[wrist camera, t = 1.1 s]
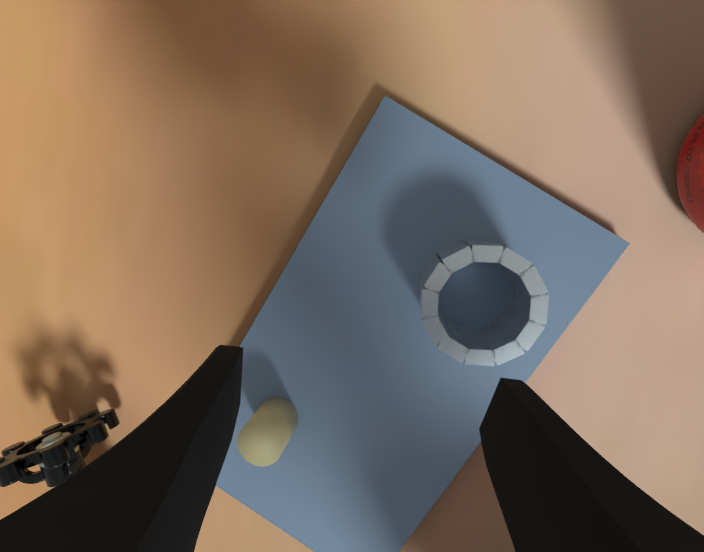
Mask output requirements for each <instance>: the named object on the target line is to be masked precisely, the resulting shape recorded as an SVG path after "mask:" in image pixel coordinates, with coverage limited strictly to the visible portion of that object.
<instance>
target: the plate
mask: <svg viewBox="0 0 704 552" xmlns="http://www.w3.org/2000/svg"><path fill="white" fill-rule="evenodd" d="M462 240H475V241H489V242H492V243H495V244H498V245H501V246H505V247H507V248H509V249H510V250H512V251H514V252H515V253H517V254H519V255H520V256H522V257H523V258H525V259H527V260H528V261H530V262H532V265H535V267H536V269H537V271H538V273H539V275H540V277H541V278H542V280H543V282H544V284H545V286H546V288H547V290H548V292H547V293H546V294H548V295H549V302H548V313H547V324H541V325H543V326H544V327H545V329H544V330H543V331H542V333H541V334H540V335H539V337H538V338H537V339H536V341H535V342H534V343H533V345H532V346H531V348H530V349H529V350H528V351H526V350H525V349H523V348H522V349H523V351H524V353H525V354H523V355H521V356H518V357H516V358H514V359H512V360H509V361H507V362H505V363H503V364H501V365H497V363H496V362H495V364H494V366H482V365H468V364H465V363H464V361H463V362H462V363H461V362H459V361H457V360H456V359H454V358H453V357H451V356H449V355H448V354H446V353H445V352H443V351H442V350H440V349H438V348H437V345H435V344H434V342H433V341H432V339H431V337H430V335H429V333H428V331H427V329H426V327H425V326H424V324H423V322H422V317H421V309H420V286H421V277H422V273H423V271H424V270H425V268H426V267H427V265H428V264H429V262H430V261H431V259H432V258H433V256H434V255H435V254H436V255H437V256H439V255H438V253H437V252H438V251H440V250H442V249H444V248H446V247H448V246H450V245H452V244H454V243H456V242H458V241H460V242H462ZM629 244H630V243H628V242H627V241H625V240H623V239H622V238H620V237H618V236H617V235H615V234H613V233H612V232H610V231H608V230H607V229H605V228H603V227H602V226H600V225H599V224H597V223H595V222H594V221H592V220H590V219H589V218H587V217H585V216H584V215H582V214H580V213H579V212H577V211H575V210H574V209H572V208H570V207H569V206H567V205H565V204H564V203H562V202H560V201H559V200H557V199H556V198H554V197H552V196H551V195H549V194H547V193H546V192H544V191H542V190H541V189H539V188H537V187H536V186H534V185H532V184H531V183H529V182H527V181H526V180H524V179H522V178H521V177H519V176H517V175H516V174H514V173H512V172H511V171H509V170H508V169H506V168H504V167H503V166H501V165H499V164H498V163H496V162H494V161H493V160H491V159H489V158H488V157H486V156H484V155H483V154H481V153H479V152H478V151H476V150H474V149H473V148H471V147H469V146H468V145H466V144H464V143H463V142H461V141H460V140H458V139H456V138H455V137H453V136H451V135H450V134H448V133H446V132H445V131H443V130H441V129H440V128H438V127H436V126H435V125H433V124H431V123H430V122H428V121H426V120H425V119H423V118H421V117H420V116H418V115H417V114H415V113H413V112H412V111H410V110H408V109H407V108H405V107H403V106H402V105H400V104H398V103H397V102H395V101H393V100H392V99H390V98H388V97H387V96H385V97H384V98H383V100H382V102H381V103H380V105H379V107H378V109H377V110H376V112H375V114H374V115H373V117H372V119H371V121H370V122H369V124H368V126H367V128H366V129H365V131H364V133H363V134H362V136H361V138H360V140H359V141H358V143H357V145H356V146H355V148H354V150H353V152H352V153H351V155H350V157H349V159H348V160H347V162H346V164H345V165H344V167H343V169H342V171H341V172H340V174H339V176H338V177H337V179H336V181H335V183H334V184H333V186H332V188H331V190H330V191H329V193H328V195H327V196H326V198H325V200H324V202H323V203H322V205H321V207H320V209H319V210H318V212H317V214H316V215H315V217H314V219H313V221H312V222H311V224H310V226H309V227H308V229H307V231H306V233H305V234H304V236H303V238H302V240H301V241H300V243H299V245H298V246H297V248H296V250H295V252H294V253H293V255H292V257H291V258H290V260H289V262H288V264H287V265H286V267H285V269H284V271H283V272H282V274H281V276H280V277H279V279H278V281H277V283H276V284H275V286H274V288H273V289H272V291H271V293H270V295H269V296H268V298H267V300H266V302H265V303H264V305H263V307H262V308H261V310H260V312H259V314H258V315H257V317H256V319H255V321H254V322H253V324H252V326H251V327H250V329H249V331H248V333H247V334H246V336H245V338H244V339H243V341H242V343H241V345H240V346H239V347H243V364H242V383H241V401H240V408H239V412H238V416H237V420H236V425H235V429H234V433H233V437H232V441H231V443H230V446H229V449H228V452H227V455H226V458H225V461H224V463H223V466H222V469H221V472H220V475H219V477H218V480H217V483H216V486H217V487H219V488H220V489H222V490H223V491H225V492H226V493H228V494H229V495H231V496H232V497H234V498H235V499H237V500H238V501H240V502H241V503H243V504H244V505H246V506H247V507H249V508H250V509H252V510H253V511H255V512H256V513H258V514H259V515H261V516H262V517H264V518H265V519H267V520H268V521H270V522H271V523H273V524H274V525H276V526H277V527H279V528H280V529H282V530H283V531H285V532H286V533H288V534H289V535H291V536H292V537H294V538H295V539H297V540H298V541H300V542H301V543H303V544H304V545H306V546H307V547H309V548H310V549H312V550H313V551H315V552H399V550H400V549H401V548H402V546H403V545H404V544H405V542H406V541H407V540H408V538H409V537H410V536H411V534H412V533H413V532H414V530H415V529H416V528H417V526H418V525H419V524H420V522H421V521H422V520H423V518H424V517H425V516H426V514H427V513H428V512H429V510H430V509H431V508H432V506H433V505H434V504H435V502H436V501H437V500H438V498H439V497H440V496H441V494H442V493H443V492H444V490H445V489H446V488H447V486H448V485H449V484H450V482H451V481H452V480H453V478H454V477H455V476H456V474H457V473H458V472H459V470H460V469H461V468H462V466H463V465H464V464H465V462H466V461H467V460H468V458H469V457H470V456H471V454H472V453H473V452H474V450H475V449H476V448H477V446H478V445H479V444H480V442H481V437H480V432H479V428H480V425H481V423H482V421H483V418H484V416H485V414H486V411H487V409H488V406H489V404H490V402H491V399H492V397H493V395H494V392H495V390H496V387H497V385H498V383H499V380H500V378H508V379H517V380H522V381H523V382H524V383H525V382H526V381H527V380H528V378H529V377H530V376H531V374H532V373H533V372H534V370H535V369H536V368H537V366H538V365H539V364H540V362H541V361H542V360H543V358H544V357H545V356H546V354H547V353H548V352H549V350H550V349H551V348H552V346H553V345H554V344H555V342H556V341H557V340H558V338H559V337H560V336H561V334H562V333H563V332H564V330H565V329H566V328H567V326H568V325H569V324H570V322H571V321H572V320H573V318H574V317H575V316H576V314H577V313H578V312H579V310H580V309H581V308H582V306H583V305H584V304H585V302H586V301H587V300H588V298H589V297H590V296H591V294H592V293H593V292H594V290H595V289H596V288H597V286H598V285H599V284H600V282H601V281H602V280H603V278H604V277H605V276H606V274H607V273H608V272H609V270H610V269H611V268H612V266H613V265H614V264H615V262H616V261H617V260H618V258H619V257H620V256H621V254H622V253H623V252H624V250H625V249H626V248H627V246H628V245H629ZM509 291H510V282H509V280H508V278H507V276H506V274H505V272H504V270H503V268H502V266H501V265H500V264H498V263H492V262H473V263H471V264H469V265H467V266H465V267H463V268H461V269H459V270H457V271H455V272H453V273H452V274H451V275H450V277H449V278H448V280H447V281H446V283H445V284H444V286H443V287H442V289H441V290H440V292H439V300H438V308H439V310H440V312H441V314H442V316H444V317H445V318H447V319H449V320H450V321H452V322H453V323H455V324H457V325H458V326H467V327H480V326H483V325H485V324H487V323H489V322H491V321H493V320H495V319H497V318H498V317H499V315H500V314H501V312H502V311H503V310H504V308H505V307H506V305H507V304H508V303H509Z"/></svg>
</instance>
